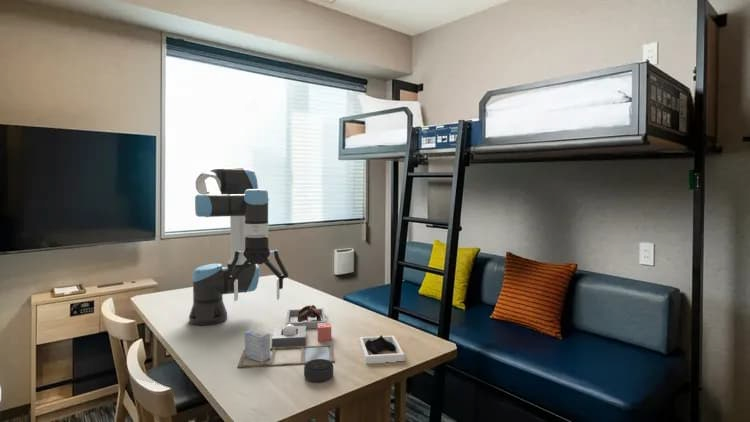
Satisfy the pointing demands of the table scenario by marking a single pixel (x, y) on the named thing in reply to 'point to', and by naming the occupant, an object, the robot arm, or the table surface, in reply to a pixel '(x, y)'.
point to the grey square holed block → (289, 337)
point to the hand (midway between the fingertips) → (257, 299)
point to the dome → (289, 330)
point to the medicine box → (257, 345)
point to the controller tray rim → (381, 357)
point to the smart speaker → (318, 370)
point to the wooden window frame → (311, 354)
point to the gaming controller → (378, 345)
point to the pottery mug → (308, 313)
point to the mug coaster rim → (308, 325)
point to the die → (324, 331)
